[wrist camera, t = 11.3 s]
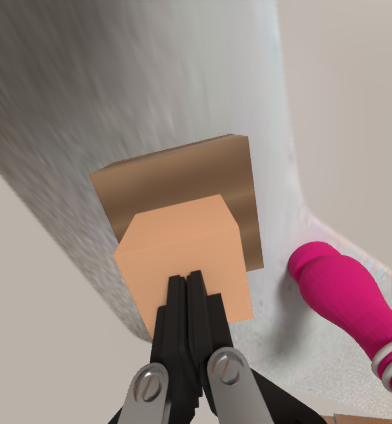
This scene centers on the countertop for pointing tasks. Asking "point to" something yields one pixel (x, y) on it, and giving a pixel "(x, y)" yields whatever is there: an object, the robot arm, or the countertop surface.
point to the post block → (185, 186)
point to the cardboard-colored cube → (184, 256)
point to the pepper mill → (347, 301)
